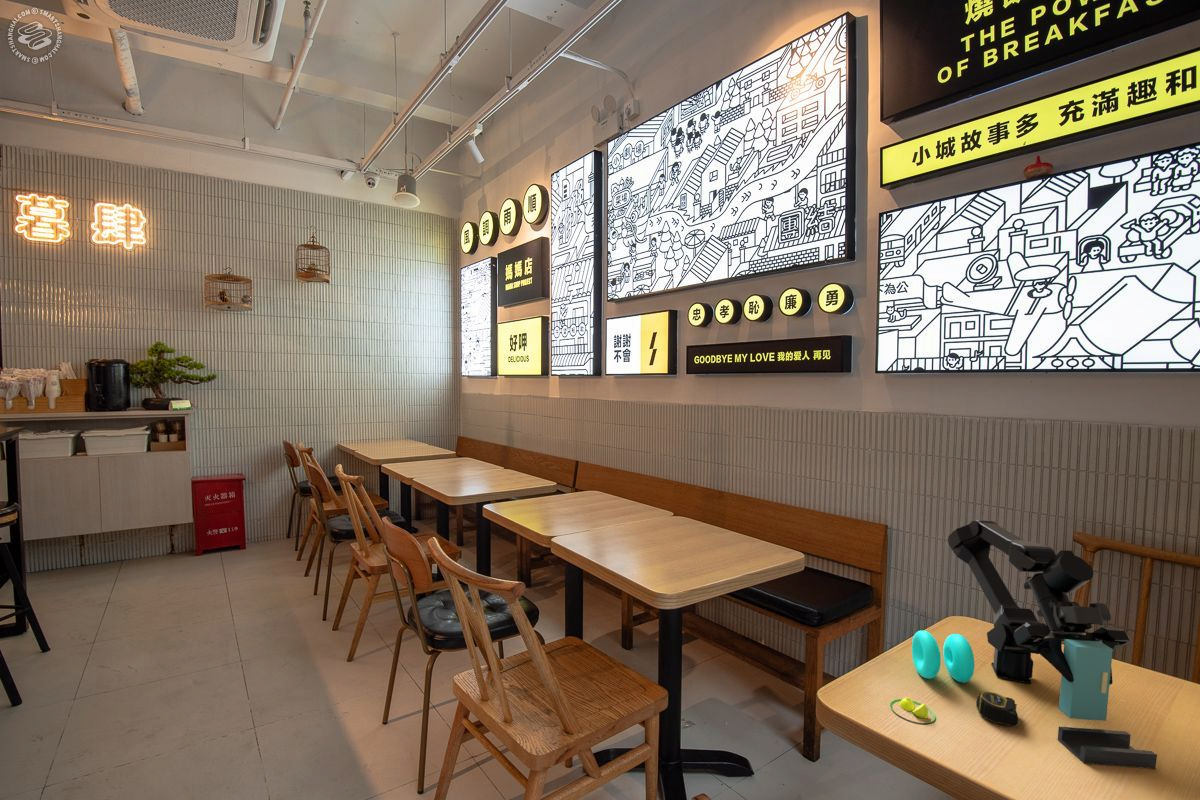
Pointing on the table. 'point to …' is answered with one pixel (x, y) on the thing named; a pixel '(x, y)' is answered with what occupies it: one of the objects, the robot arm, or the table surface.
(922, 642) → the donuts
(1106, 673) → the door panel
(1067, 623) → the robot arm
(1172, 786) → the table surface
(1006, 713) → the tape measure
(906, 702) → the lemon
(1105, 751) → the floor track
